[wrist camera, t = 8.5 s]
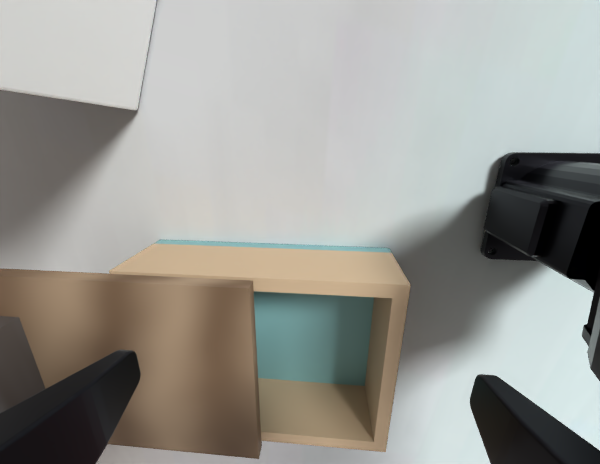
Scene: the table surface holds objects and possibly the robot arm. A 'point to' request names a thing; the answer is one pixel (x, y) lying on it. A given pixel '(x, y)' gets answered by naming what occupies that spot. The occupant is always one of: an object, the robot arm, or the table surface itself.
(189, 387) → the lid
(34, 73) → the milk carton
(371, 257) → the box
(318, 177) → the table surface
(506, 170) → the robot arm
